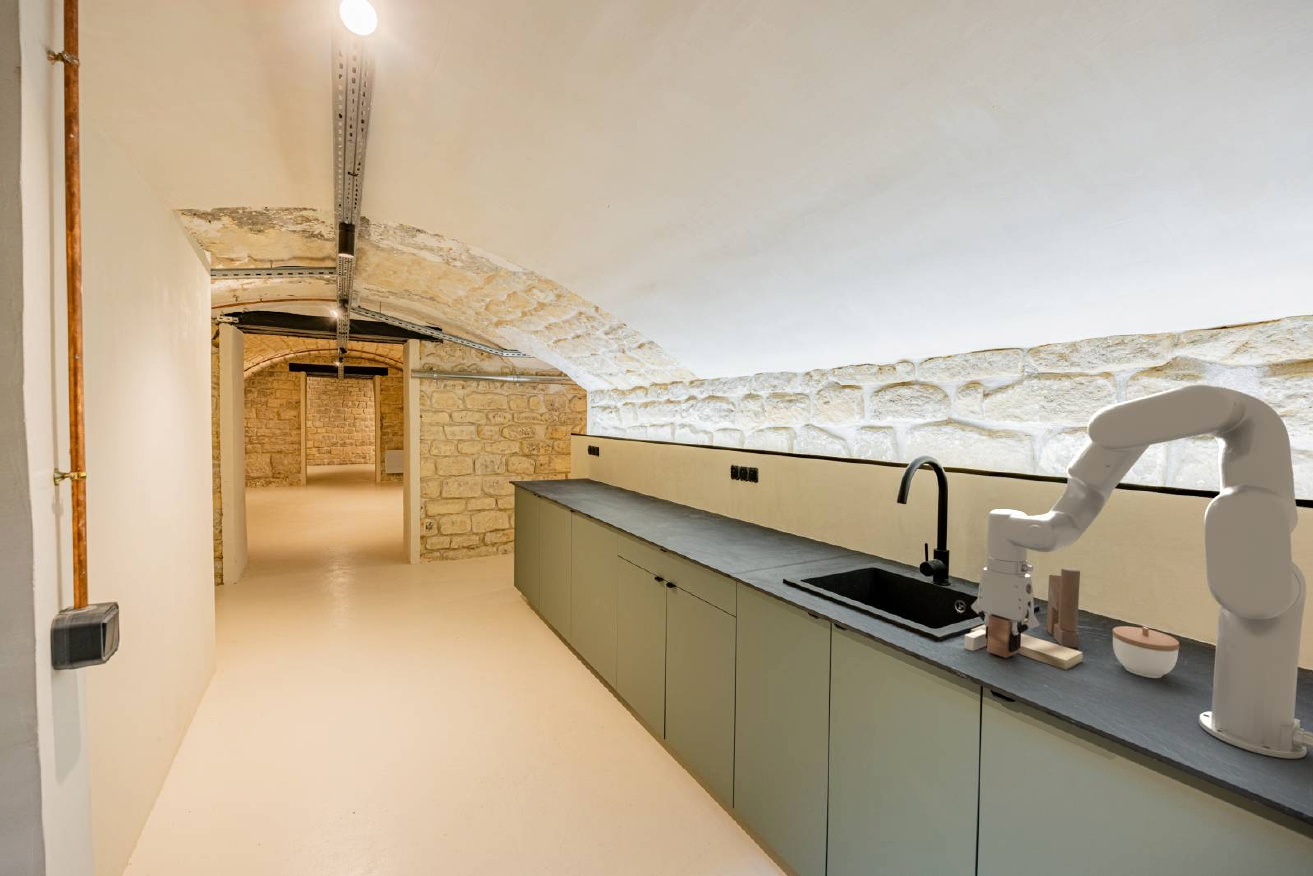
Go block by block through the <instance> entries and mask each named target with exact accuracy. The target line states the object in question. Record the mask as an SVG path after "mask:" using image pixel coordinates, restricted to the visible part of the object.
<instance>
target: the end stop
mask: <svg viewBox="0 0 1313 876" xmlns="http://www.w3.org/2000/svg"><path fill="white" fill-rule="evenodd" d="M985 636H986V631H985V630H982V629H980V630H977V631H975V632H972V633H971V632H970V633H965V634H964V642H963V643H964V645H963V649H965V650H969V651H972V652H974V651H977V650H979V649H981V648H984V647H986V646H987V639H986V637H985Z"/></svg>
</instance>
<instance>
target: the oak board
mask: <svg viewBox="0 0 1313 876" xmlns="http://www.w3.org/2000/svg"><path fill="white" fill-rule="evenodd" d="M980 629H982V630H985V631H986V626H985V625H984V624H982V625H980V626H977V627H975V628H971V629H970V633H972V632H975V631H977V630H980ZM1016 654H1018V655H1021V656H1024V657H1027V658H1030V659H1033V660H1036V661H1039V662H1042V663H1045V664H1047V665H1049V666H1050V665H1051V666H1053V667H1057V668H1060V669H1062V670H1068V669H1070V668H1073V667H1074V666H1076V665H1078V664H1080V663H1082V662H1083V652H1082V651H1080V650H1076V649H1073V648H1071V647H1065V646H1061V645H1060V644H1056V643H1055V642H1054V643H1053V642H1050V641H1048V640H1043V639H1041V638H1037V637H1033V636H1031V635H1028V634H1025V633H1021V646H1020V648H1019V649H1018V650H1017V653H1016Z"/></svg>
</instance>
